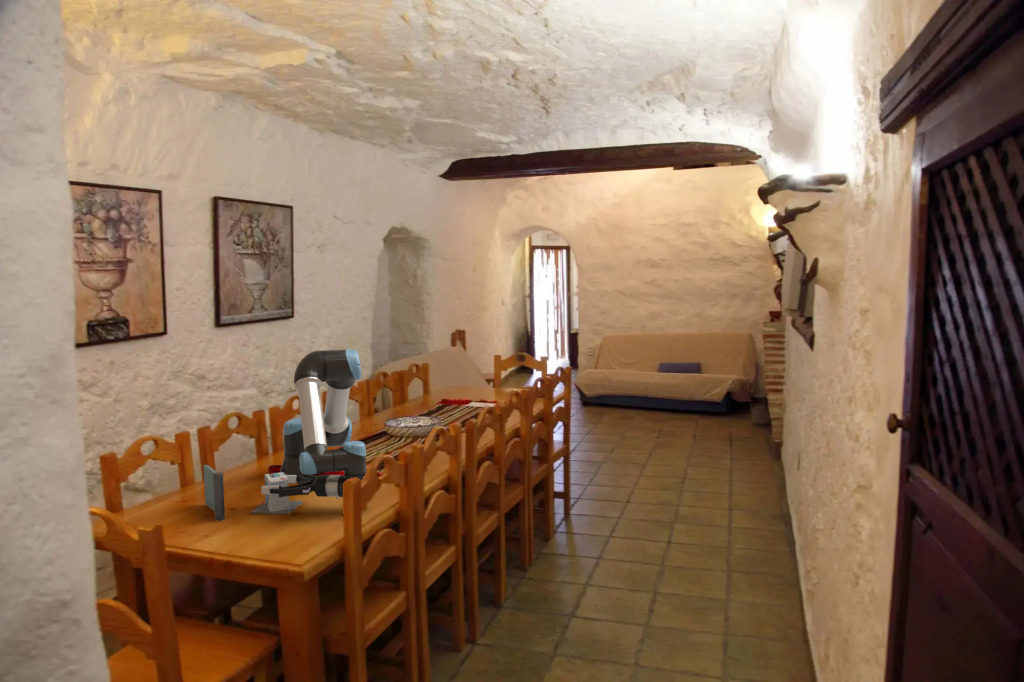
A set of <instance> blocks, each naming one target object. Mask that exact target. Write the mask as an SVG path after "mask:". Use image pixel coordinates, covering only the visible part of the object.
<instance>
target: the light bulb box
mask: <svg viewBox="0 0 1024 682" xmlns="http://www.w3.org/2000/svg"><path fill="white" fill-rule="evenodd" d="M264 486H281V487H286V486H289V483H288V478H287V477H286V475H285V474H284V473H283V472H280V471H279V472H273V473H265V474H264ZM264 496H265V497H264V498H265V499H264V500H265V501H264V502H265V503H266V505H267V507H268V509H269V511H270V512H272V511H279V510H286V509H289V501H290V499H289V498H290V496H286V497H279V495H274V494H264Z"/></svg>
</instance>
